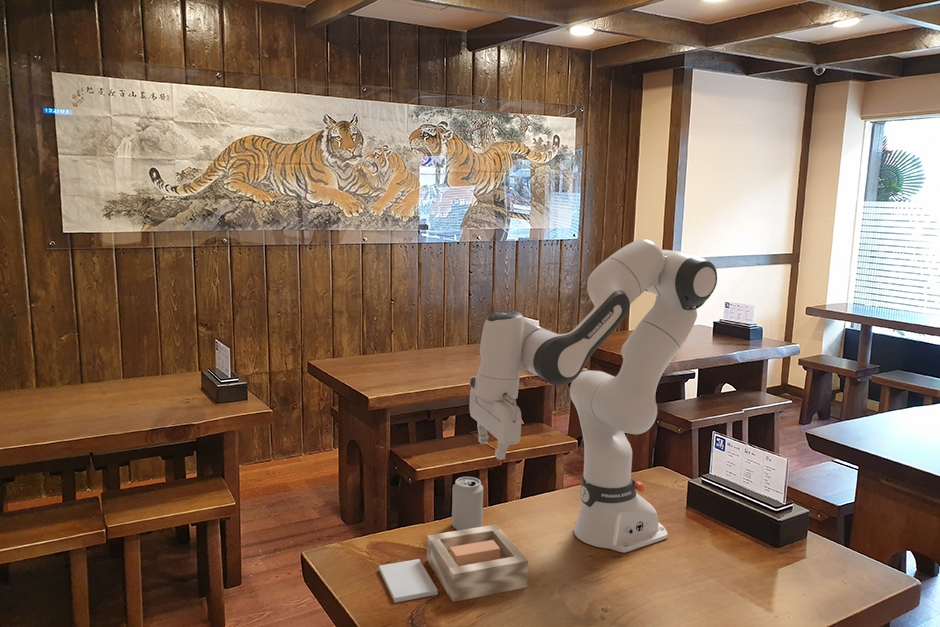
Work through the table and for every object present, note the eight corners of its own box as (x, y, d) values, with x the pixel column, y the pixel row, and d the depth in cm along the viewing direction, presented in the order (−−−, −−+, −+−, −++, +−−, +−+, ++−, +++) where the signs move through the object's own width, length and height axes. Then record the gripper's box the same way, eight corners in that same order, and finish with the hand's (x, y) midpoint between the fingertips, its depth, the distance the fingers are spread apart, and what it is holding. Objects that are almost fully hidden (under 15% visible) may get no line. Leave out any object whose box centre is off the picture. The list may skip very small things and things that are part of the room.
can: (479, 536, 170) (480, 488, 168) (448, 532, 171) (449, 485, 169) (484, 522, 177) (486, 476, 175) (455, 518, 178) (456, 473, 176)
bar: (492, 552, 156) (493, 539, 156) (499, 561, 153) (500, 548, 152) (449, 560, 153) (449, 547, 152) (455, 569, 149) (456, 556, 148)
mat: (419, 563, 157) (419, 558, 157) (437, 594, 145) (437, 589, 145) (379, 570, 154) (379, 565, 154) (394, 602, 142) (394, 598, 142)
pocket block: (495, 548, 164) (496, 524, 163) (527, 587, 148) (528, 560, 147) (427, 560, 158) (427, 535, 157) (452, 601, 142) (453, 574, 141)
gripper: (532, 401, 141) (525, 467, 143) (493, 375, 160) (487, 434, 162) (503, 401, 139) (496, 469, 141) (466, 375, 158) (461, 435, 160)
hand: (491, 450), depth 152 cm, fingers open, 8 cm apart
